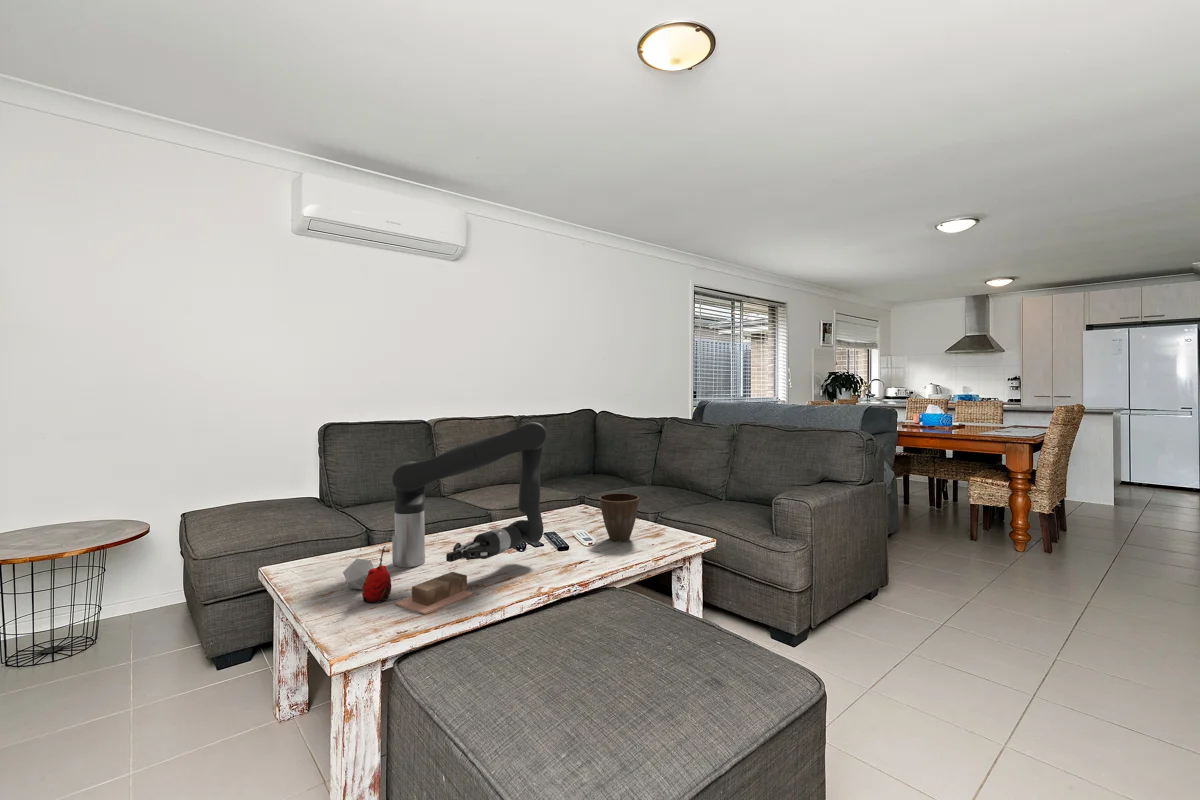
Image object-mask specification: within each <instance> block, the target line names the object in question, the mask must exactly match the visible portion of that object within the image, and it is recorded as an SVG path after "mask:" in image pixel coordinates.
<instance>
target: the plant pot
mask: <svg viewBox="0 0 1200 800" xmlns="http://www.w3.org/2000/svg"><path fill="white" fill-rule="evenodd" d="M639 499H640V497H639V496H638V495H636V494H632V493H623V492H621V493H619V492H618V493H609V494H608V493H607V494H603V495H601V496H599V503H600V509H601V510H600V511H601V514H602V519H603V522H604V526H605V529H606V533H607V535H608V538H609V540H610V541H611V542H616V541H624V542H627V540H628V541H629V540H630V539H631V535H632V532H633V530H634V527H635V523H636V519H637V514H638V507H639Z"/></svg>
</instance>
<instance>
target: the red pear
mask: <svg viewBox="0 0 1200 800" xmlns="http://www.w3.org/2000/svg"><path fill="white" fill-rule="evenodd" d="M385 548H386V545H384V546H383V548H382V549H381V548H378V550H379V551H380V552H381V555H380V558H379V565H378V566H377V567H374V569H370V570H369V571H368V575H367V577H366V579H365V581H364V584H363V586H362V589H363V590H362V594H361V595H362V601H363V602H365V603H366V602H367V603H371V604H373V603H374V604H376V603H381V602H384V601H386V600H388V599H389V597H390V595H391V592H392V578H391V575H390V572H389V571H388V569H387V565H384V564H383V565H382V563H383V555H384V553H390V551H391V550H390V549H387V550H385Z"/></svg>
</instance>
